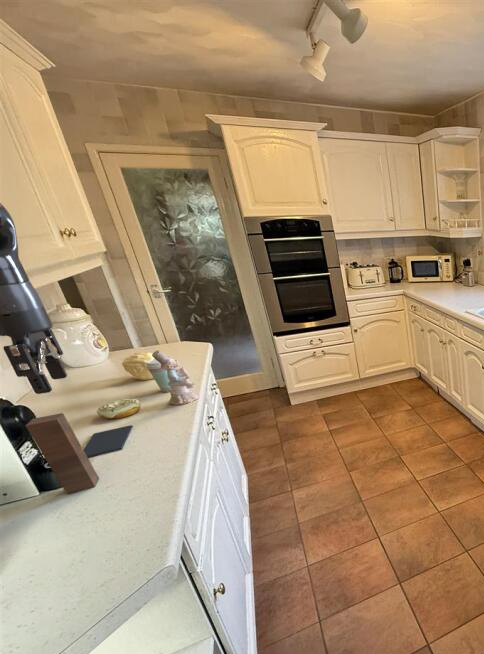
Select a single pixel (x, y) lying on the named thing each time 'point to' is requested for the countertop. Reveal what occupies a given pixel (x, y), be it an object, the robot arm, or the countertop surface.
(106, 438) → the rubber mat
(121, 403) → the decorated donut
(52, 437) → the walnut block
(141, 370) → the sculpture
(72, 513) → the countertop surface
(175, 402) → the figurine
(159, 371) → the coffee cup
